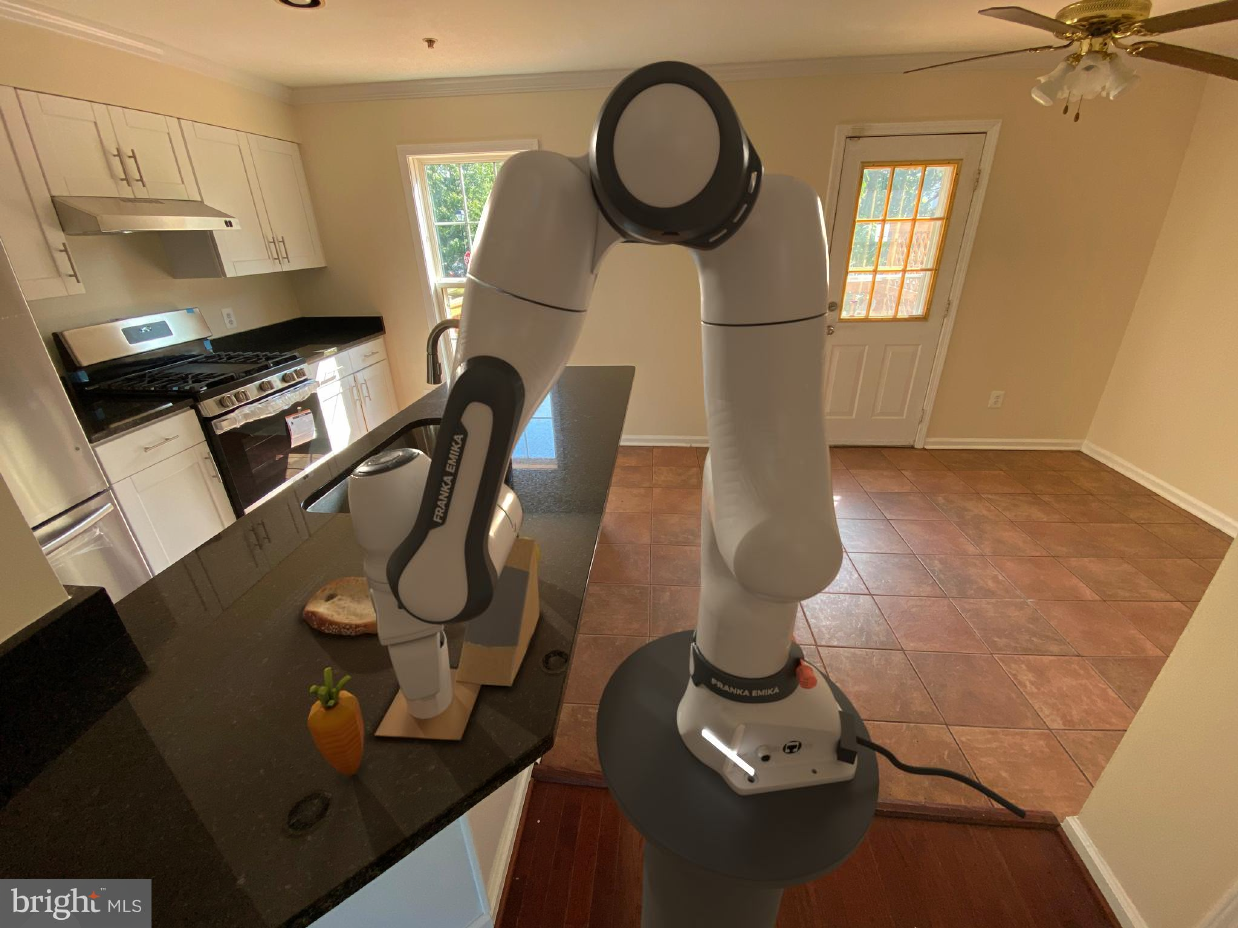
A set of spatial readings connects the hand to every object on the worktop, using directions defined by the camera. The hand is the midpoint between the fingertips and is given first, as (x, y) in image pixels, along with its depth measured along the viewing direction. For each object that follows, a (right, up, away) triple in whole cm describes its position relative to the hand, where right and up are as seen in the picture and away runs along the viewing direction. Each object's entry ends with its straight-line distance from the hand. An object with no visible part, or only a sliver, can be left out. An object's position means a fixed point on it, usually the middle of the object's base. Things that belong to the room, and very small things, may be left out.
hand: (427, 667), depth 65 cm
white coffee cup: (-1, -6, +3) cm, 6 cm away
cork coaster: (0, -6, +3) cm, 6 cm away
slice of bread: (-17, +2, +20) cm, 26 cm away
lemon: (+8, +6, +29) cm, 31 cm away
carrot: (-6, -10, -6) cm, 13 cm away
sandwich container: (+7, -2, +12) cm, 14 cm away
